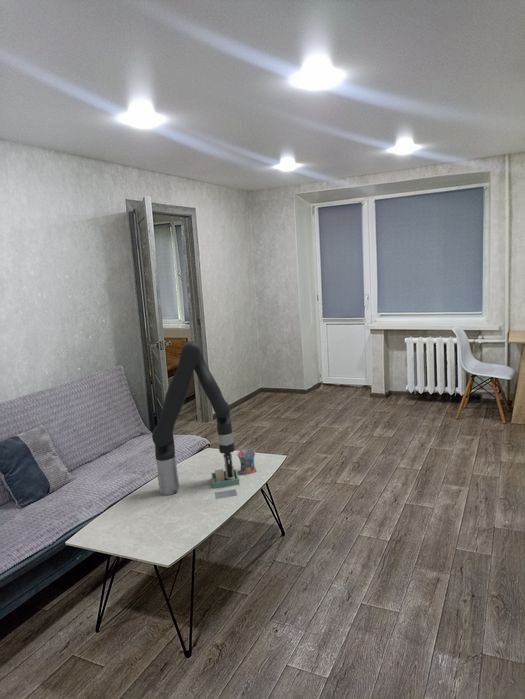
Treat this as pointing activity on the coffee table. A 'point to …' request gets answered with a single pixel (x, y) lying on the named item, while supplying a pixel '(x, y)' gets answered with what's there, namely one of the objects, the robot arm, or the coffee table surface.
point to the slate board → (225, 494)
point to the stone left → (219, 475)
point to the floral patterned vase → (247, 461)
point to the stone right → (232, 471)
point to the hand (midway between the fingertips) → (229, 475)
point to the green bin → (225, 483)
